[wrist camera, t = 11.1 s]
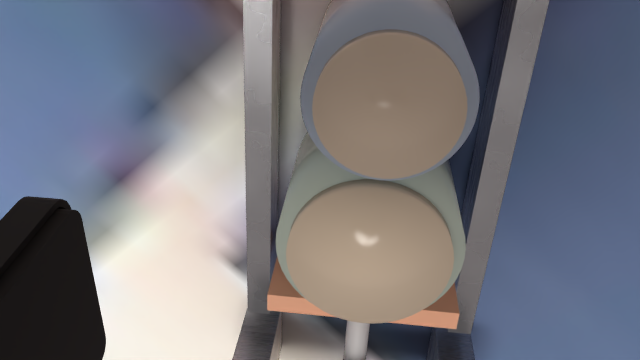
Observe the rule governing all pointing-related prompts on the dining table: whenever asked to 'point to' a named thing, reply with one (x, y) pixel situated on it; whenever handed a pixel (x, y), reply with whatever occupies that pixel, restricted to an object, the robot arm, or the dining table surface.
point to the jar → (389, 87)
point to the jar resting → (369, 239)
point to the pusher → (356, 340)
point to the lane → (481, 192)
